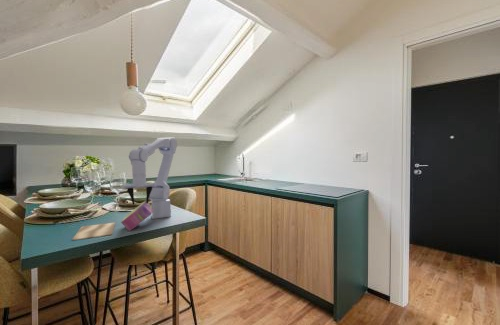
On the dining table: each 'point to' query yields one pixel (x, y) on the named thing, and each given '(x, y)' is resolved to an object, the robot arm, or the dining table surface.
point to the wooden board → (94, 231)
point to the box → (137, 215)
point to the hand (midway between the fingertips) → (140, 203)
